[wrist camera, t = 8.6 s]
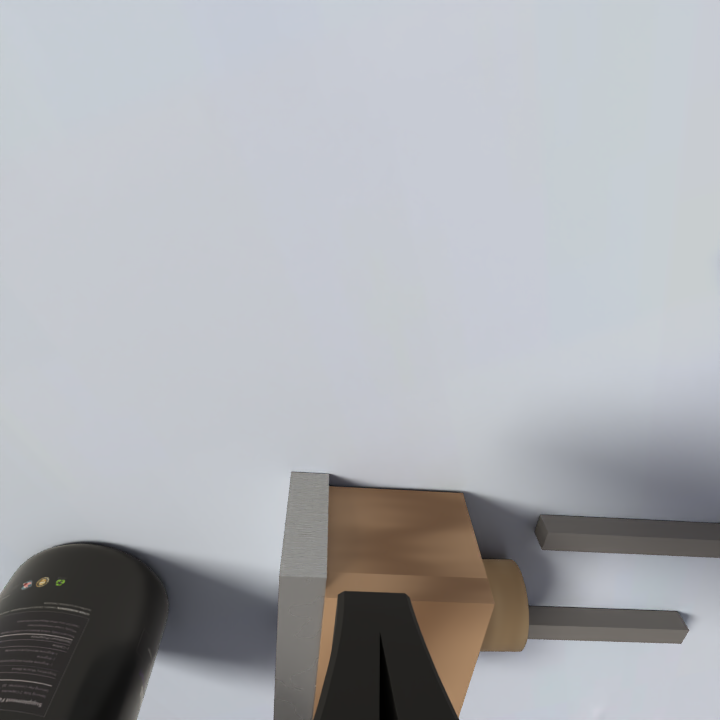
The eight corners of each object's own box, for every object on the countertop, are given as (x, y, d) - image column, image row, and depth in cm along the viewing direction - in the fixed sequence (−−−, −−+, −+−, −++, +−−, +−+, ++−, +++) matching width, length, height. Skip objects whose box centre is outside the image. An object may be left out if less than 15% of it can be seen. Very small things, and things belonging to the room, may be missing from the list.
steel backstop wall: (328, 473, 22) (326, 577, 17) (314, 634, 27) (309, 748, 22) (291, 472, 22) (279, 575, 17) (283, 633, 26) (272, 747, 22)
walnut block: (462, 493, 22) (495, 603, 18) (428, 634, 27) (447, 753, 22) (328, 486, 22) (325, 597, 17) (315, 630, 26) (310, 751, 22)
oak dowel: (512, 541, 24) (536, 621, 21) (495, 590, 26) (514, 668, 23) (352, 539, 24) (353, 619, 21) (348, 588, 26) (348, 667, 23)
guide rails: (726, 524, 24) (741, 541, 23) (670, 624, 27) (681, 643, 26) (540, 514, 23) (548, 532, 22) (504, 619, 26) (510, 638, 26)
